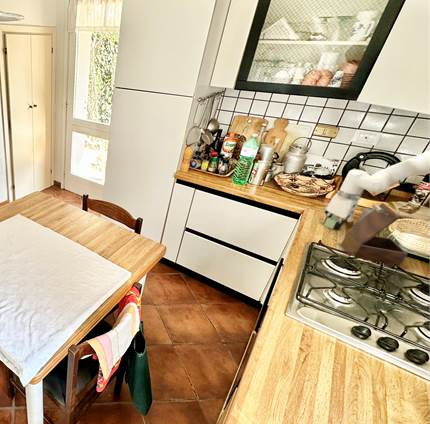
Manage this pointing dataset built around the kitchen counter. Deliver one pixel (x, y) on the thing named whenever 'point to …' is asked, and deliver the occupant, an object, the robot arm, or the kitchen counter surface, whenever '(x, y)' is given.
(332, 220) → the block
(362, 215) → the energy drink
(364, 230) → the box lid
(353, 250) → the keepsake box
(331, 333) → the kitchen counter surface
